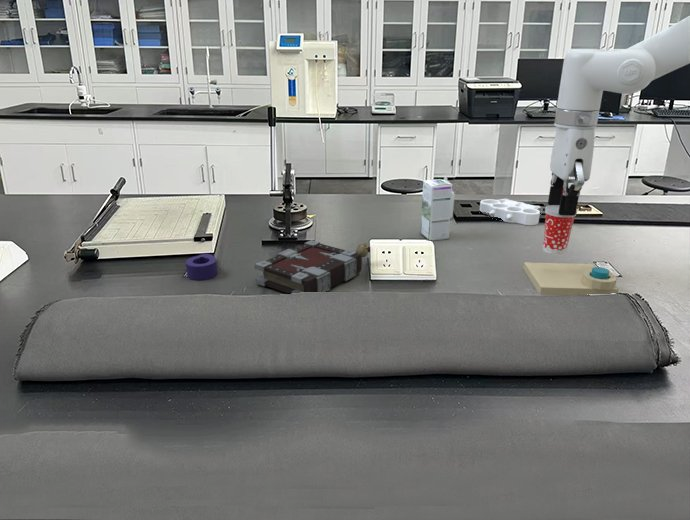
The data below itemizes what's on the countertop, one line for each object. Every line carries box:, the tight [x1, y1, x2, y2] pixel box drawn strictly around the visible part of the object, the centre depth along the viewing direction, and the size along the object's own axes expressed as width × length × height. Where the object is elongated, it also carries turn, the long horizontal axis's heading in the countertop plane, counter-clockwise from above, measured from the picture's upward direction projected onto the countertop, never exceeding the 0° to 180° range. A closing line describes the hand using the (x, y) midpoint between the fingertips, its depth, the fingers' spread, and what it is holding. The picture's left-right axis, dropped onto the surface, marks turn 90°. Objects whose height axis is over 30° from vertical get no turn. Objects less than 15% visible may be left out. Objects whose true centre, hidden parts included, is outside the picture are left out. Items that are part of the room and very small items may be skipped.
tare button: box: [591, 266, 611, 279], centre depth 106 cm, size 3×3×2 cm
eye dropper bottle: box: [443, 176, 456, 220], centre depth 150 cm, size 4×6×12 cm
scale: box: [522, 261, 619, 296], centre depth 110 cm, size 15×14×4 cm
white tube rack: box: [479, 198, 544, 227], centre depth 153 cm, size 3×18×15 cm
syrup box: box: [420, 178, 453, 241], centre depth 135 cm, size 6×6×14 cm
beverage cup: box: [542, 187, 578, 255], centre depth 108 cm, size 6×6×14 cm
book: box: [254, 239, 371, 294], centre depth 114 cm, size 15×25×5 cm, turn 143°
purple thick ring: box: [185, 253, 218, 281], centre depth 116 cm, size 12×6×3 cm, turn 9°
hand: (561, 209), depth 108 cm, fingers closed on beverage cup, 6 cm apart
